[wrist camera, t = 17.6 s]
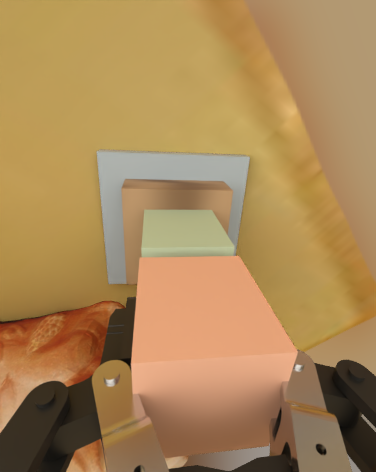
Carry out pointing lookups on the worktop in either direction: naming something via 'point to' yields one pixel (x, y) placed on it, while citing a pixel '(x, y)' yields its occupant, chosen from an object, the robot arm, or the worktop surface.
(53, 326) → the ceramic vessel
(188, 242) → the sage block
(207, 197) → the walnut base
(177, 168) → the board
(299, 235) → the worktop surface
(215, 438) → the terracotta block
